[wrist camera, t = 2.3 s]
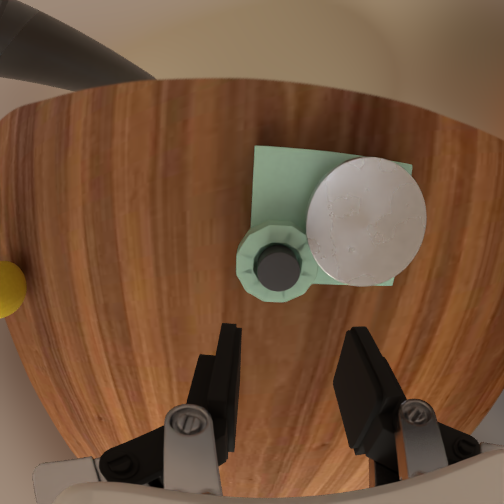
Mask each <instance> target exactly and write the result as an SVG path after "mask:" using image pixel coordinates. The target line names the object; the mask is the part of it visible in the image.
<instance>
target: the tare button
mask: <svg viewBox="0 0 504 504" xmlns="http://www.w3.org/2000/svg"><path fill="white" fill-rule="evenodd" d="M257 275H258V279H259V281H260V283H261V284H262V285H263V286H264V287H265V288H267V289H269V290H271V291H276V292H280V291H285V290H288V289H290V288H291V287H293V286H294V285H295V284H296V282H297V281H298V279H299V276H300V266H299V263H298V260H297V258H296V255H295V254H294V252H293V251H292V250H291V249H289V248H288V247H286V246H282V245H273V246H270V247H268V248H266V249H265V250H264V251H263V252H262V253H261V254H260V256H259V258H258V262H257Z"/></svg>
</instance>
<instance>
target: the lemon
mask: <svg viewBox="0 0 504 504" xmlns="http://www.w3.org/2000/svg"><path fill="white" fill-rule="evenodd" d="M26 290H27V285H26V279H25V276H24V273H23V272H22V271H21V269H20V268H19V267H18V266H17V265H15V264H14V263H12V262H9V261H0V318H3V317H6V316H8V315H10V314H12V313H13V312H15V311H16V310H17V309H18V308H19V307H20V305H21V304H22V303H23V301H24V298H25V295H26Z"/></svg>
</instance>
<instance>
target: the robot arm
mask: <svg viewBox="0 0 504 504" xmlns="http://www.w3.org/2000/svg"><path fill="white" fill-rule="evenodd" d="M241 334H242V328H236V324H228V323H222V326H221V331H220V336H219V341H218V346H217V351H216V356H213V355H202V354H200V355H199V358H198V361H197V365H196V369H195V373H194V376H193V380H192V384H191V388H190V391H189V395H188V399H187V403H186V404H181V405H178V406H176V407H174V408H172V409H171V410H169V412H168V413H167V415H166V417H165V423H164V426H162V427H159V428H157V429H155V430H153V431H151V432H149V433H146V434H144V435H142V436H140V437H137V438H135V439H133V440H130V441H128V442H126V443H123V444H121V445H118V446H116V447H113V448H111V449H109V450H107V451H105V452H104V454H103V455H102V456H101V457H100V458H95V459H93V457H92V456H90V457H84V458H78V459H72V460H64V461H55V462H45V463H42V464H39V465H38V466H37V467H35V469H34V471H33V485H34V491H35V496H36V502H37V504H504V446H502V445H496V444H490V443H484V442H481V443H480V444H479V443H478V442H477V440H476V439H475V438H473V437H472V436H470V435H468V434H466V433H463V432H461V431H458V430H456V429H453V428H451V427H449V426H446V425H444V424H441V423H439V422H437V419H436V415H435V412H434V410H433V408H432V407H431V406H430V405H429V404H428V403H427V402H425V401H423V400H420V399H408V400H407V399H406V397H405V395H404V393H403V391H402V389H401V387H400V385H399V383H398V381H397V379H396V377H395V375H394V373H393V371H392V369H391V368H390V366H389V364H388V362H387V360H386V359H385V357H382V355H381V353H380V351H379V349H378V347H377V345H376V343H375V342H374V340H373V338H372V336H371V334H370V332H369V331H368V329H367V327H352V328H351V330H348V331H347V332H346V336H345V340H344V343H343V347H342V351H341V355H340V358H339V362H338V365H337V369H336V372H335V376H334V380H333V386H334V390H335V394H336V398H337V401H338V405H339V409H340V412H341V416H342V420H343V424H344V428H345V432H346V435H347V439H348V443H349V447H350V448H351V449H352V448H354V451H355V455H361V454H366V456H367V457H369V488H367V489H362V490H356V491H350V492H343V493H336V494H328V495H318V496H307V497H289V498H243V497H227V496H223V494H222V487H221V481H220V474H219V467H218V466H220V465H221V464H223V463H225V462H226V459H228V452H234V449H235V437H236V424H237V411H238V399H239V386H240V362H241Z"/></svg>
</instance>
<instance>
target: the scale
mask: <svg viewBox="0 0 504 504" xmlns="http://www.w3.org/2000/svg"><path fill="white" fill-rule="evenodd" d="M357 157H366V156H359V155H352V154H344V153H337V152H328V151H319V150H310V149H299V148H287V147H273V146H255V149H254V169H253V190H252V210H251V229H250V230H248V232H247V233H246V235H245V236H244V238H243V239H242V241H241V242H240V244H239V246H238V249H237V255H236V275H237V276H238V278H239V280H240V282H241V283H242V285H243V287H244V288H245V290H246V291H247V292H248V293H250V294H252V295H254V296H255V297H257V298H259V299H260V300H262V301H265V302H287V301H289V300H291V299H294V298H296V297H298V296H300V295H302V294H304V293H305V292H306V291H307V289H308V288H309V287H310V285H311V284H335V285H348V284H344V283H342V282H339V281H337V280H335V279H334V278H332V277H330V276H329V275H328V274H327V273H326V272H324V271H323V269H322V268H321V267H320V266H319V265H318V263H317V262H316V260H315V259H314V257H313V255H312V253H311V251H310V249H309V246H308V243H307V240H306V235H305V225H304V222H305V212H306V207H307V203H308V201H309V198H310V195H311V193H312V191H313V189H314V188H315V186H316V185H317V183H318V182H319V180H320V179H321V178H322V177H323V176H324V175H325V174H326V173H327V172H328V171H329V170H330V169H332V168H333V167H335V166H336V165H338V164H340V163H342V162H344V161H346V160H349V159H352V158H357ZM392 162H394V163H396V164H398V165H399V166H401V167H402V168H404V169H405V170H406V171H407V172H408V173H409V174H410V175H411V174H412V165H411V164H406V163H401V162H395V161H392ZM273 245H282V246H286V247H288V248H289V249H291V250H292V251H293V252H294V254H295V255H296V258H297V260H298V263H299V266H300V276H299V279H298V281H297V282H296V284H295V285H294V286H293V287H291V288H290V289H288V290H285V291H280V292H276V291H271V290H269V289H267V288H265V287H264V286H263V285H262V284H261V283H260V281H259V279H258V275H257V262H258V258H259V256H260V254H261V253H262V252H263V251H264V250H265V249H266V248H268V247H270V246H273ZM393 281H394V277H393V278H391V279H390V280H388V281H386V282H383V283H381V284H377V285H375V286H392V285H393Z"/></svg>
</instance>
